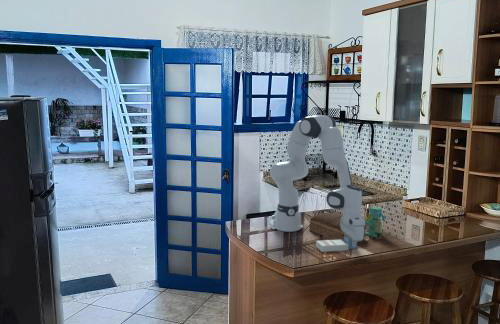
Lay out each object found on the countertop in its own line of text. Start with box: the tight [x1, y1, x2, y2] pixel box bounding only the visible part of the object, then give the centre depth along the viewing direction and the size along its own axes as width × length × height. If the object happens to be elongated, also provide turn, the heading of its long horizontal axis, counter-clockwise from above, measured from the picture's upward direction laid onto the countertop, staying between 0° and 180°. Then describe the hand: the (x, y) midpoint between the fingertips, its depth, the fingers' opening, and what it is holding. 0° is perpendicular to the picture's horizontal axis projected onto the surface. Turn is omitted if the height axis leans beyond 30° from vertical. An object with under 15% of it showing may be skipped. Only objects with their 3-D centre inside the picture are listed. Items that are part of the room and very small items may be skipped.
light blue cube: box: [344, 236, 358, 250], centre depth 227 cm, size 5×5×5 cm
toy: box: [364, 206, 386, 238], centre depth 249 cm, size 10×10×15 cm
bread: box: [308, 212, 366, 241], centre depth 247 cm, size 17×29×11 cm, turn 33°
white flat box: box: [315, 239, 349, 253], centre depth 225 cm, size 8×14×3 cm, turn 103°
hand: (350, 243), depth 227 cm, fingers closed on light blue cube, 5 cm apart
